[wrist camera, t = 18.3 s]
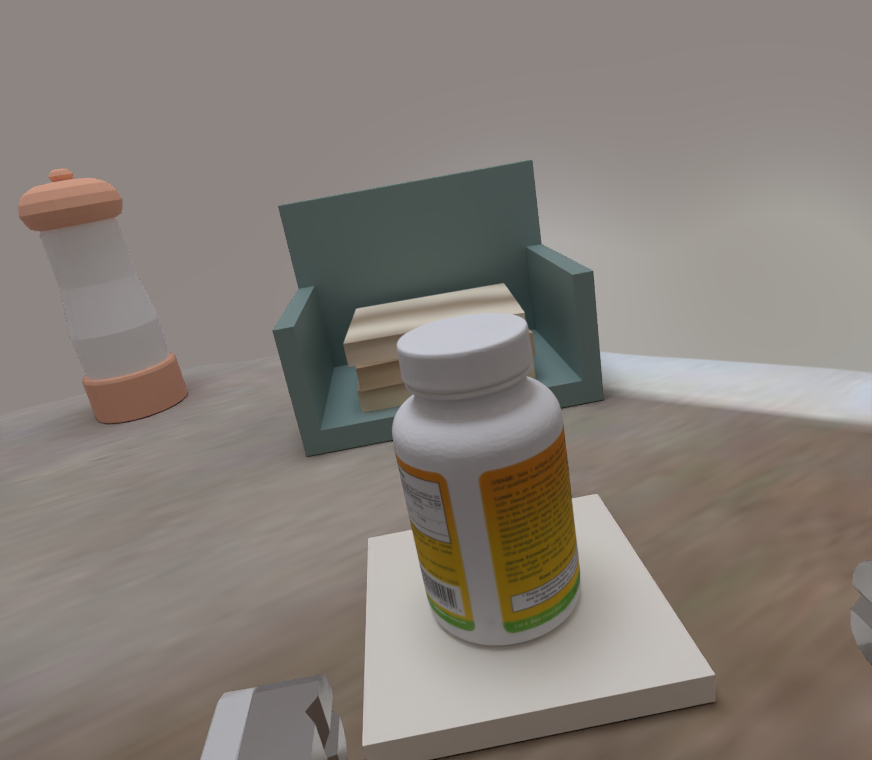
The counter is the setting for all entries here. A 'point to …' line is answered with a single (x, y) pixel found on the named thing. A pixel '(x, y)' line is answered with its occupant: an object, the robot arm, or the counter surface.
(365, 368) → the board
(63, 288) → the pepper shaker
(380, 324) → the birch offcut top
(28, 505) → the counter surface
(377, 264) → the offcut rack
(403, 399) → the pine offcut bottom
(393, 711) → the plate
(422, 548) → the supplement bottle
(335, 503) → the counter surface
